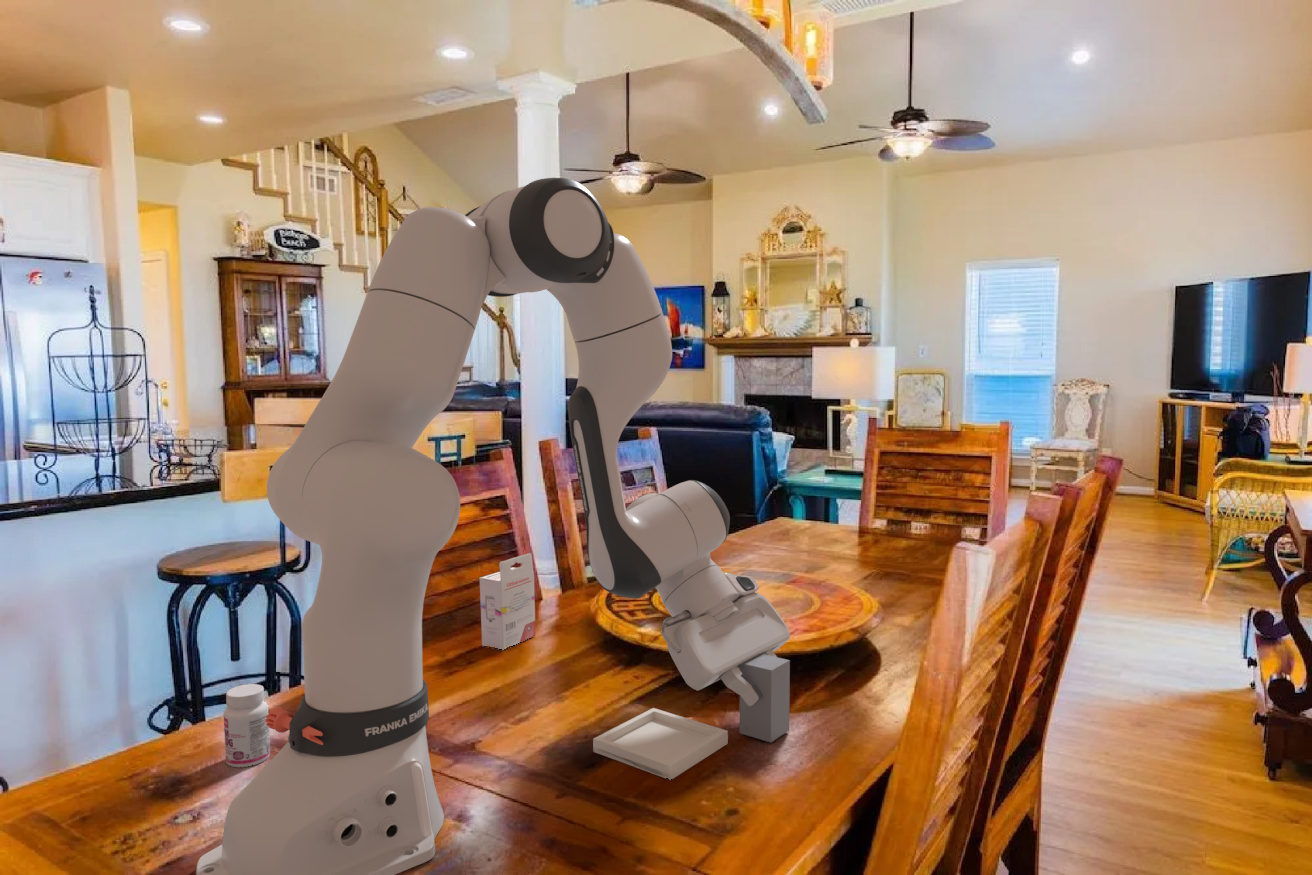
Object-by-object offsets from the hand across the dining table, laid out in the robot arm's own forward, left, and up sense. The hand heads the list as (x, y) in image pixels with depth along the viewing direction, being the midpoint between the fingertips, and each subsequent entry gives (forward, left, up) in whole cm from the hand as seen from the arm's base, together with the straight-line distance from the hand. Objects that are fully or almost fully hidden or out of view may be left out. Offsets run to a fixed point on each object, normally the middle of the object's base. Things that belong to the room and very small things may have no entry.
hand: (769, 694), depth 105 cm
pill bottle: (-43, +46, -5) cm, 63 cm away
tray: (-11, +9, -5) cm, 15 cm away
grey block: (0, +1, -5) cm, 5 cm away
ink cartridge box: (+5, +54, -5) cm, 54 cm away
